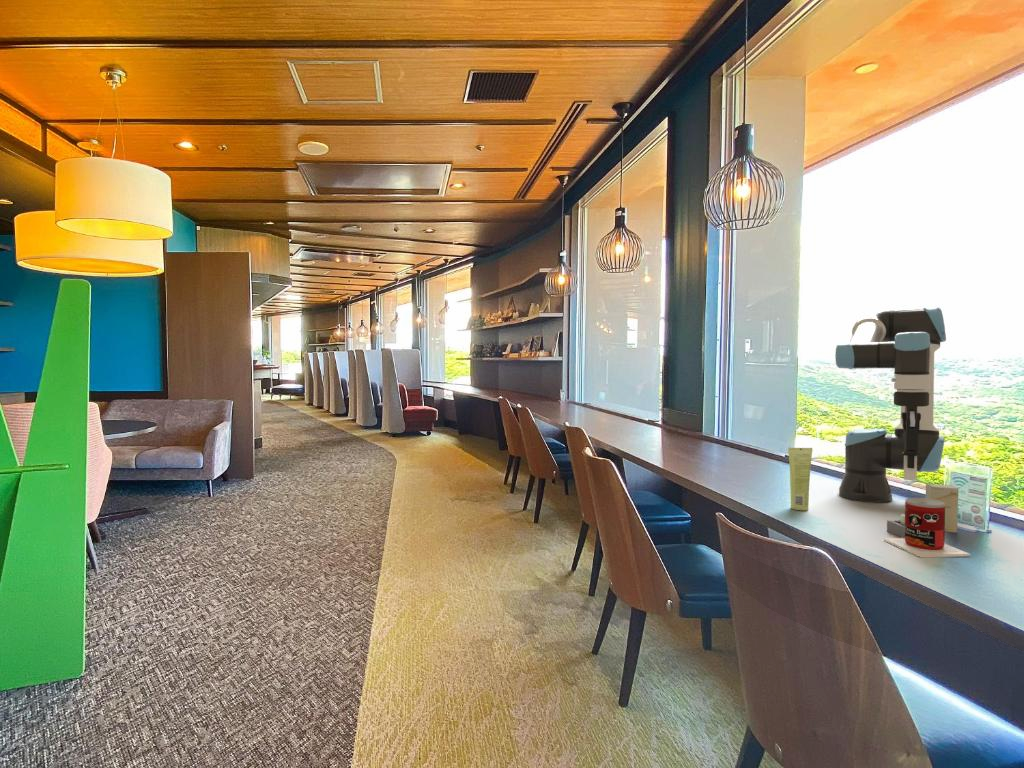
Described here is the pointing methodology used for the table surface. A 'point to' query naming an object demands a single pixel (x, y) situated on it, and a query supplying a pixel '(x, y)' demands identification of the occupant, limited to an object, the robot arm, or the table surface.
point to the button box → (896, 528)
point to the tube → (800, 477)
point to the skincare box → (946, 503)
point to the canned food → (925, 523)
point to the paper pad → (945, 552)
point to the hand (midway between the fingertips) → (910, 479)
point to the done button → (902, 519)
